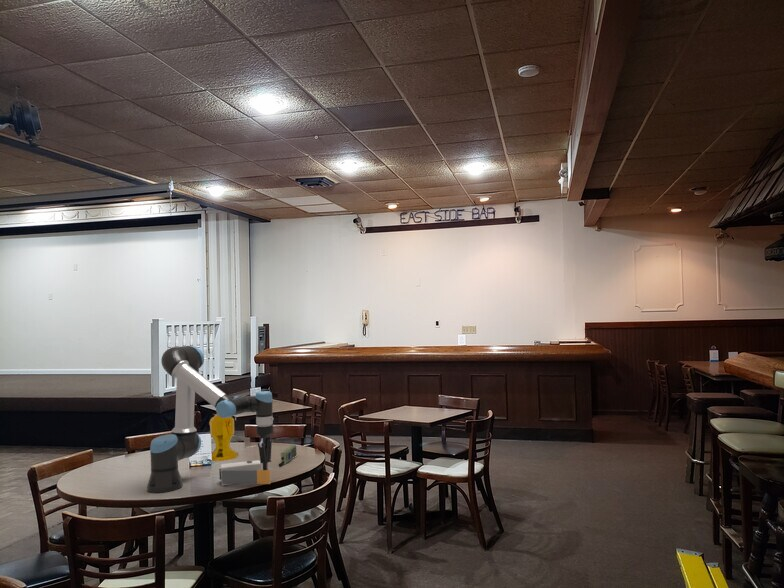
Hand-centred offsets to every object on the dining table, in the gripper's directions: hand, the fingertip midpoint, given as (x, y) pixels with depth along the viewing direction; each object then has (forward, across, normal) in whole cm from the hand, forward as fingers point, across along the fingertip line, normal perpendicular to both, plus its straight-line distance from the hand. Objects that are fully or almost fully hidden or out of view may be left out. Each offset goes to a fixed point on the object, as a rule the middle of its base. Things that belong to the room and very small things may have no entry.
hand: (266, 477), depth 264 cm
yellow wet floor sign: (+4, +55, +46) cm, 72 cm away
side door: (+2, -2, +9) cm, 9 cm away
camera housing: (+4, +6, +14) cm, 16 cm away
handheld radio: (+4, +45, +4) cm, 45 cm away
